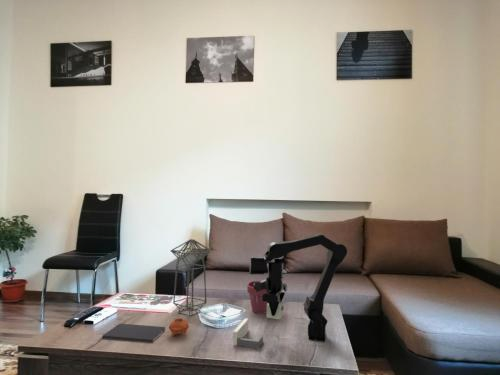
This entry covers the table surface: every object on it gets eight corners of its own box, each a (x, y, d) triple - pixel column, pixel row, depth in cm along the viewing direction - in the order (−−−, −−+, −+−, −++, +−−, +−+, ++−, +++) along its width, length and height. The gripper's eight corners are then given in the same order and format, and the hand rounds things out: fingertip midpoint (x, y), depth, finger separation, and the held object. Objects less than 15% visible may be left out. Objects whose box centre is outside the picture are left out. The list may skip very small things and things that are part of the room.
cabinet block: (284, 315, 137) (284, 302, 137) (281, 319, 133) (281, 306, 133) (269, 313, 139) (269, 301, 139) (266, 317, 134) (266, 304, 134)
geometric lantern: (166, 313, 163) (168, 239, 165) (190, 305, 176) (191, 237, 177) (190, 319, 154) (191, 241, 156) (213, 311, 167) (214, 239, 168)
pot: (192, 330, 142) (191, 315, 141) (184, 342, 135) (183, 327, 133) (175, 327, 144) (173, 313, 143) (165, 339, 137) (164, 324, 135)
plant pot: (266, 317, 159) (266, 289, 159) (241, 311, 166) (241, 285, 166) (280, 308, 171) (280, 282, 171) (256, 303, 178) (256, 278, 179)
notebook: (102, 339, 134) (152, 343, 131) (102, 335, 134) (152, 339, 131) (119, 327, 147) (166, 330, 143) (119, 323, 147) (166, 327, 143)
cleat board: (268, 333, 140) (268, 321, 140) (258, 348, 126) (258, 335, 126) (245, 330, 143) (245, 318, 143) (233, 344, 129) (233, 331, 129)
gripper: (262, 267, 148) (261, 304, 147) (249, 277, 130) (248, 319, 129) (287, 269, 144) (287, 307, 144) (277, 280, 126) (277, 322, 126)
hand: (274, 313), depth 136 cm, fingers closed on cabinet block, 5 cm apart
